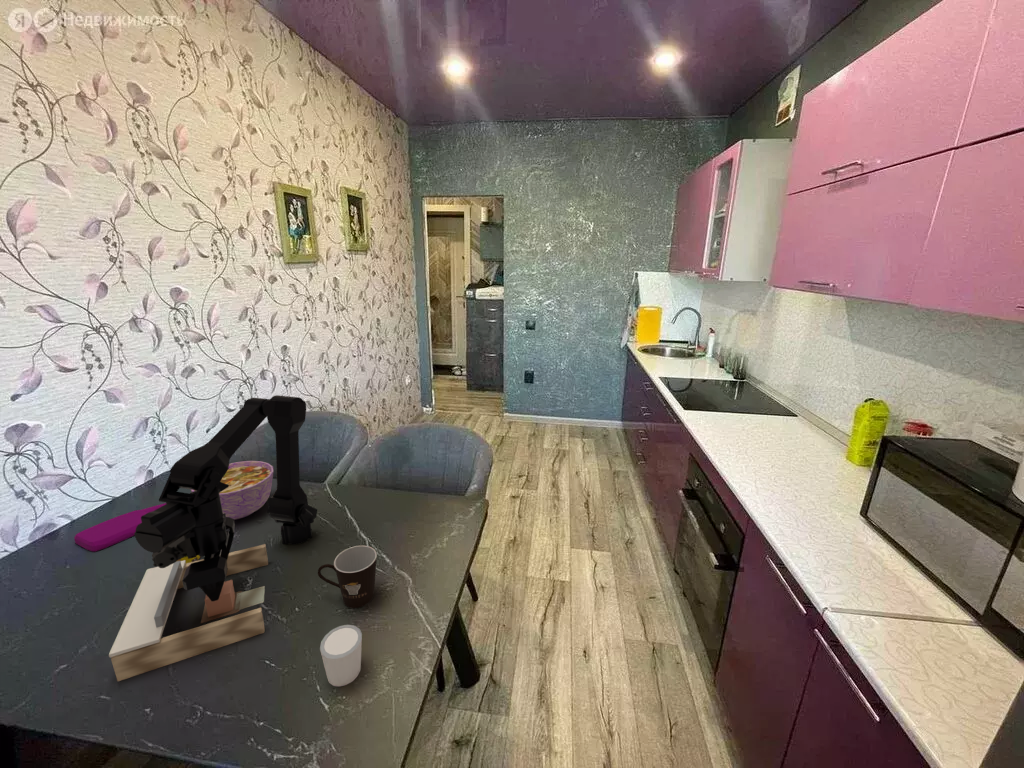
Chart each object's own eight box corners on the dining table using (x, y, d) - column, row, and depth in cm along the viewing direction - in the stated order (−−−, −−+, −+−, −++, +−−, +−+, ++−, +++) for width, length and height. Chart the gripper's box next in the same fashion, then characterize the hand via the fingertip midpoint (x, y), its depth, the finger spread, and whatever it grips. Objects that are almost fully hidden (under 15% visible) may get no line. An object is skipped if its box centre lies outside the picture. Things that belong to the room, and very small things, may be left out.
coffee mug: (387, 588, 92) (384, 550, 89) (362, 617, 84) (358, 577, 81) (345, 575, 96) (342, 538, 93) (317, 601, 88) (313, 562, 85)
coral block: (235, 595, 87) (232, 579, 86) (233, 609, 84) (229, 593, 83) (211, 602, 85) (207, 586, 84) (208, 617, 82) (204, 600, 81)
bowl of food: (178, 526, 111) (169, 488, 108) (239, 489, 130) (234, 457, 127) (238, 538, 107) (232, 499, 104) (293, 498, 126) (289, 465, 123)
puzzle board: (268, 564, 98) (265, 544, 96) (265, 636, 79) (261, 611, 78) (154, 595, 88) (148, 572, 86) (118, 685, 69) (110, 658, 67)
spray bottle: (72, 543, 104) (179, 498, 126) (95, 555, 100) (202, 507, 122) (69, 533, 103) (178, 490, 125) (92, 545, 99) (200, 498, 121)
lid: (185, 562, 89) (183, 551, 89) (159, 642, 70) (156, 629, 70) (147, 571, 86) (144, 560, 85) (109, 657, 67) (105, 644, 67)
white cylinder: (331, 654, 76) (327, 624, 74) (368, 652, 76) (366, 623, 75) (317, 691, 69) (313, 659, 67) (358, 688, 70) (355, 657, 68)
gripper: (164, 504, 83) (179, 568, 87) (136, 560, 67) (156, 634, 72) (229, 492, 88) (240, 552, 93) (218, 541, 73) (231, 612, 77)
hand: (218, 584), depth 83 cm, fingers open, 9 cm apart
